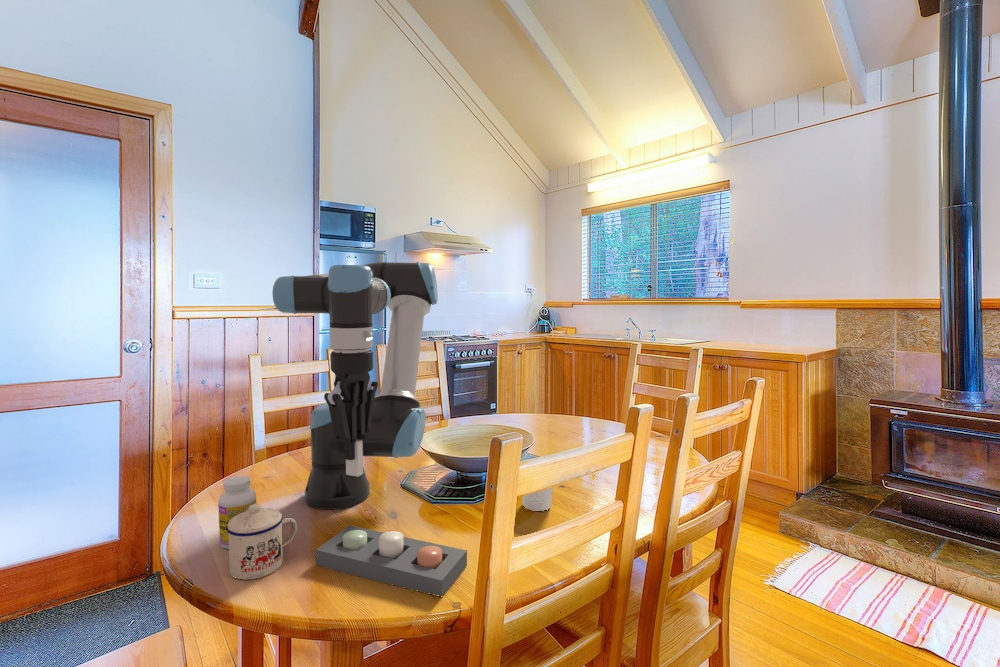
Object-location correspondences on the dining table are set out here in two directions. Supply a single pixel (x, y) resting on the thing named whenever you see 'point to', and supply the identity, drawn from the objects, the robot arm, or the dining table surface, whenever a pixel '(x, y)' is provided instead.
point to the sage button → (355, 539)
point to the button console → (393, 563)
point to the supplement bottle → (233, 503)
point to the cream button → (391, 544)
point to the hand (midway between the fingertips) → (354, 474)
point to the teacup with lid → (257, 542)
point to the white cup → (538, 500)
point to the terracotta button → (429, 556)
